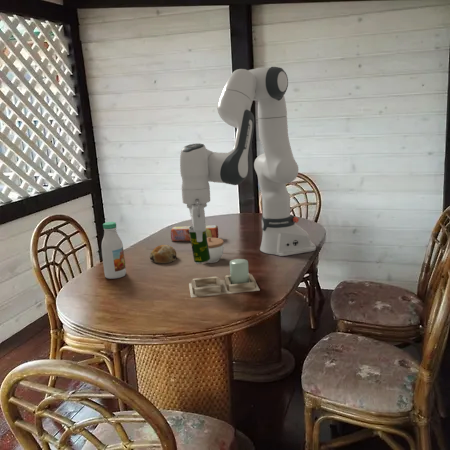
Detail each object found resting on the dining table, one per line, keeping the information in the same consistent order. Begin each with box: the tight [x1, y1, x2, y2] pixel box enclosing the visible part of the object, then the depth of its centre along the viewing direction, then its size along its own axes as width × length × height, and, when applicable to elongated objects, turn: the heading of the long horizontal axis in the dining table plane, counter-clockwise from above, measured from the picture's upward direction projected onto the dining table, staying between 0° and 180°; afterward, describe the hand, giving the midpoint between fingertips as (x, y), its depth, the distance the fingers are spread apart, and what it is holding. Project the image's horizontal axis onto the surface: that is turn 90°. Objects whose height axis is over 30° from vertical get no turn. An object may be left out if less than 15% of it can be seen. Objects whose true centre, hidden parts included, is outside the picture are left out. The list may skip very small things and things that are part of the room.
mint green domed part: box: [229, 258, 249, 284], centre depth 154 cm, size 6×6×8 cm
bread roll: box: [149, 244, 177, 264], centre depth 188 cm, size 10×10×8 cm
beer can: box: [189, 225, 210, 265], centre depth 154 cm, size 5×5×12 cm
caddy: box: [188, 273, 261, 298], centre depth 155 cm, size 22×12×3 cm, turn 97°
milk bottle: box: [101, 221, 127, 280], centre depth 172 cm, size 8×8×20 cm
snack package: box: [170, 224, 219, 242], centre depth 213 cm, size 21×7×7 cm, turn 80°
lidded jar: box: [207, 237, 225, 264], centre depth 184 cm, size 11×11×9 cm
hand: (198, 238), depth 153 cm, fingers closed on beer can, 5 cm apart
